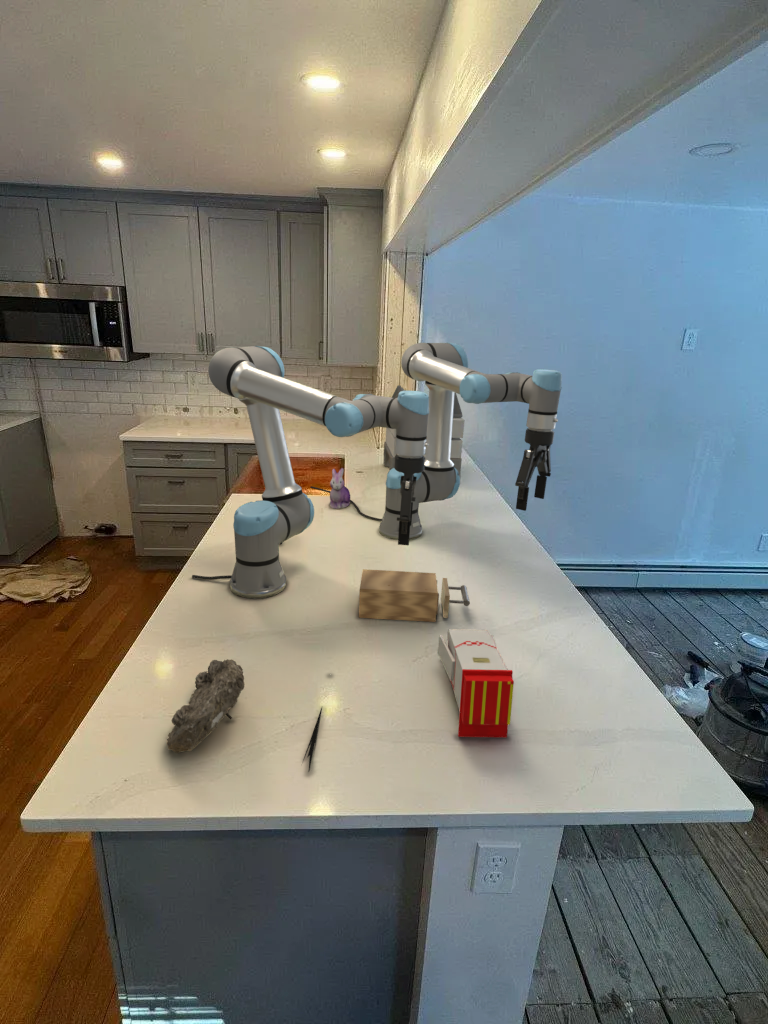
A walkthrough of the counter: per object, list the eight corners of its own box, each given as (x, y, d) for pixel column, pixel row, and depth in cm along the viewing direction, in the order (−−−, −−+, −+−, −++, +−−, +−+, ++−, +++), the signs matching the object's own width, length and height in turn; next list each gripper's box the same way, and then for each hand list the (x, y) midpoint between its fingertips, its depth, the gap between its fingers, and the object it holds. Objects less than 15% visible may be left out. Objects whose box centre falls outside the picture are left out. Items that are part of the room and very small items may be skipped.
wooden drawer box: (433, 600, 155) (435, 573, 152) (435, 622, 145) (438, 592, 142) (361, 596, 155) (362, 569, 153) (358, 617, 145) (359, 588, 142)
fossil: (192, 660, 117) (244, 628, 112) (224, 691, 120) (276, 661, 115) (142, 746, 98) (202, 712, 93) (182, 779, 101) (242, 748, 96)
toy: (488, 613, 130) (523, 677, 101) (484, 667, 133) (517, 744, 104) (435, 612, 130) (455, 676, 101) (432, 666, 133) (451, 743, 103)
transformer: (382, 463, 289) (386, 382, 275) (445, 464, 293) (451, 384, 279) (390, 482, 257) (394, 392, 243) (460, 483, 261) (468, 394, 247)
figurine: (333, 510, 219) (334, 473, 214) (323, 502, 227) (324, 466, 222) (355, 507, 223) (356, 471, 218) (345, 500, 232) (346, 464, 227)
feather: (331, 679, 122) (336, 673, 122) (307, 777, 96) (313, 769, 95) (324, 675, 122) (329, 669, 121) (298, 772, 95) (304, 764, 95)
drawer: (464, 600, 154) (466, 579, 152) (468, 619, 145) (471, 597, 142) (377, 595, 154) (378, 574, 152) (376, 614, 145) (377, 591, 143)
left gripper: (424, 469, 128) (417, 554, 136) (426, 444, 152) (420, 518, 159) (391, 467, 129) (386, 552, 136) (398, 442, 152) (394, 516, 159)
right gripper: (536, 438, 141) (526, 518, 148) (569, 424, 160) (558, 496, 168) (508, 433, 145) (499, 511, 152) (543, 421, 164) (533, 490, 172)
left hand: (404, 534), depth 148 cm, fingers open, 13 cm apart
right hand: (530, 503), depth 160 cm, fingers open, 13 cm apart
